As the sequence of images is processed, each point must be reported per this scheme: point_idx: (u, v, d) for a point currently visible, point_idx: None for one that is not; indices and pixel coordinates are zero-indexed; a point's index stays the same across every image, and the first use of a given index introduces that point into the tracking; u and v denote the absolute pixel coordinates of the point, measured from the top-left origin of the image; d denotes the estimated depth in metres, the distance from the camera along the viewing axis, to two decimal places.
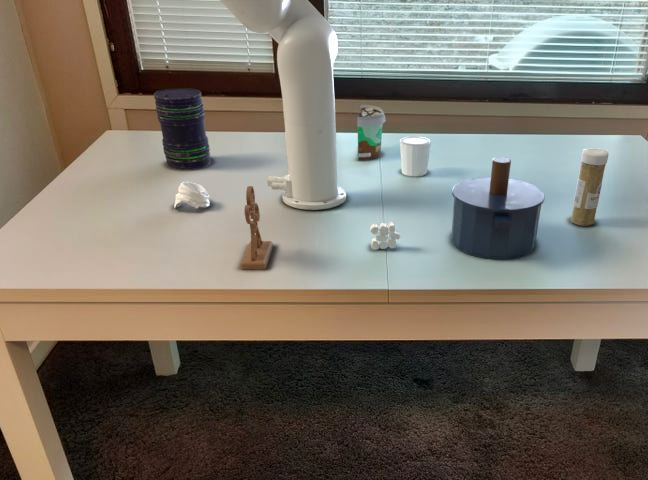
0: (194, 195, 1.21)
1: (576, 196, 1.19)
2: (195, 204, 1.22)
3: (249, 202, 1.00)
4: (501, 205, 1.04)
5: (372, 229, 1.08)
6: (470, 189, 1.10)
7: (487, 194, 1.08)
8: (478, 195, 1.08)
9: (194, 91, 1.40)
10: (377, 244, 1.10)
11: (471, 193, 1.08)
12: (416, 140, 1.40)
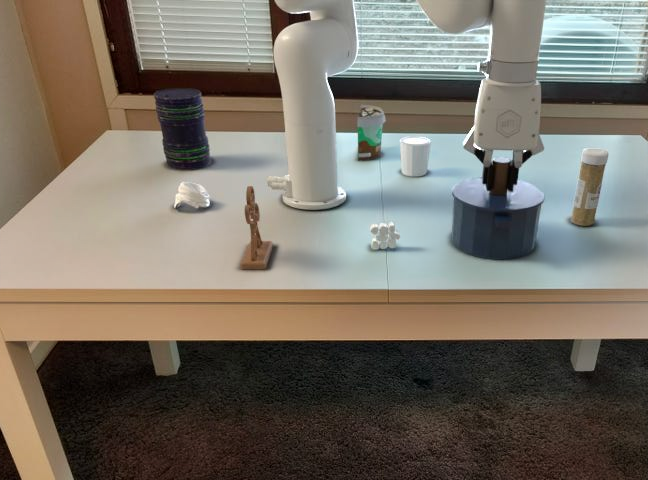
0: (194, 195, 1.21)
1: (576, 196, 1.19)
2: (195, 204, 1.22)
3: (249, 202, 1.00)
4: (501, 205, 1.04)
5: (372, 229, 1.08)
6: (470, 189, 1.10)
7: (487, 194, 1.08)
8: (478, 195, 1.08)
9: (194, 91, 1.39)
10: (377, 244, 1.10)
11: (471, 193, 1.08)
12: (416, 140, 1.40)
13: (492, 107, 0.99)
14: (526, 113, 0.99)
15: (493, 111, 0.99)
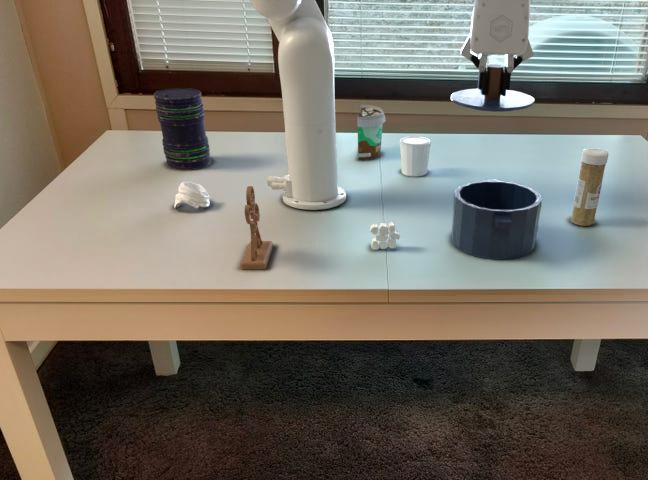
0: (194, 195, 1.21)
1: (576, 196, 1.19)
2: (195, 204, 1.22)
3: (249, 202, 1.00)
4: (495, 105, 1.16)
5: (372, 229, 1.08)
6: (467, 95, 1.22)
7: (482, 98, 1.20)
8: (474, 99, 1.20)
9: (194, 91, 1.39)
10: (377, 244, 1.10)
11: (468, 98, 1.20)
12: (416, 140, 1.40)
13: (486, 13, 1.11)
14: (516, 18, 1.11)
15: (487, 17, 1.11)
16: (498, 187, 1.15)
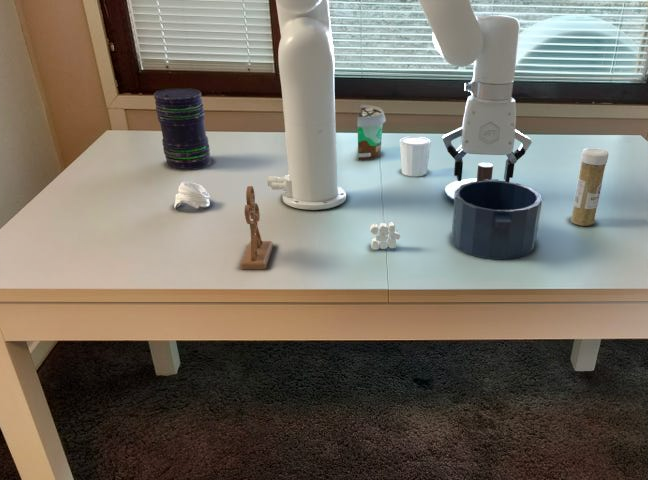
0: (194, 195, 1.22)
1: (576, 196, 1.19)
2: (195, 204, 1.22)
3: (249, 202, 1.00)
4: None
5: (372, 229, 1.08)
6: None
7: None
8: None
9: (194, 91, 1.39)
10: (377, 244, 1.10)
11: None
12: (416, 140, 1.40)
13: (476, 119, 1.21)
14: (504, 124, 1.22)
15: (476, 123, 1.21)
16: (498, 187, 1.15)
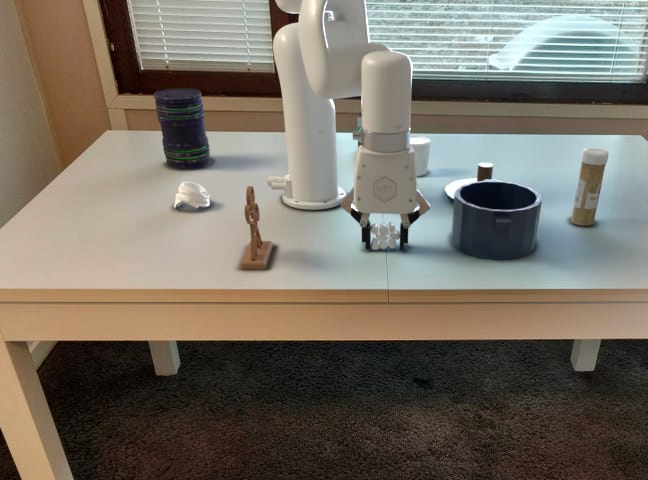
0: (194, 195, 1.22)
1: (576, 196, 1.19)
2: (195, 204, 1.22)
3: (249, 202, 1.00)
4: None
5: (372, 229, 1.08)
6: None
7: None
8: None
9: (194, 91, 1.39)
10: (377, 244, 1.10)
11: None
12: (416, 140, 1.40)
13: (367, 174, 1.01)
14: (401, 179, 1.01)
15: (368, 178, 1.01)
16: (498, 187, 1.15)
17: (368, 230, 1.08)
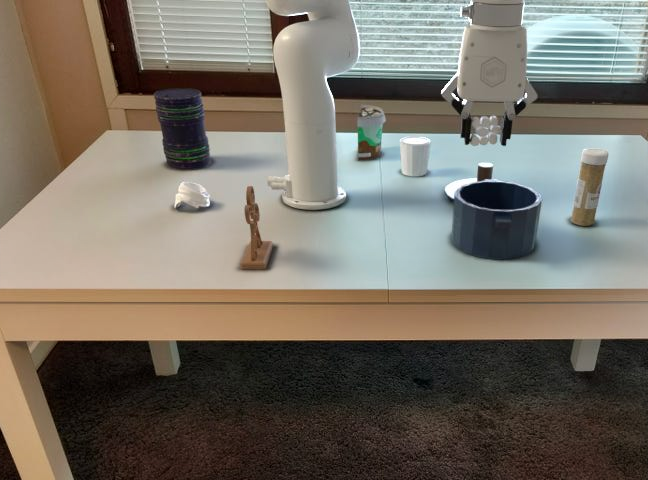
0: (194, 195, 1.22)
1: (576, 196, 1.19)
2: (195, 204, 1.22)
3: (249, 202, 1.00)
4: None
5: (473, 122, 1.01)
6: None
7: None
8: None
9: (194, 91, 1.39)
10: (477, 139, 1.03)
11: None
12: (416, 140, 1.40)
13: (476, 54, 0.94)
14: (511, 60, 0.94)
15: (476, 59, 0.94)
16: (498, 187, 1.15)
17: (470, 122, 1.01)
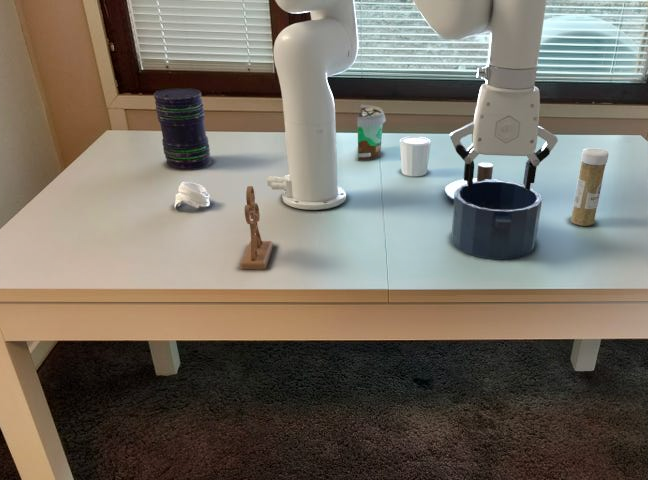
0: (194, 195, 1.22)
1: (576, 196, 1.19)
2: (195, 204, 1.22)
3: (249, 202, 1.00)
4: None
5: None
6: None
7: None
8: None
9: (194, 91, 1.39)
10: None
11: None
12: (416, 140, 1.40)
13: (491, 113, 0.99)
14: (525, 119, 1.00)
15: (492, 117, 1.00)
16: (498, 187, 1.15)
17: (473, 167, 1.05)
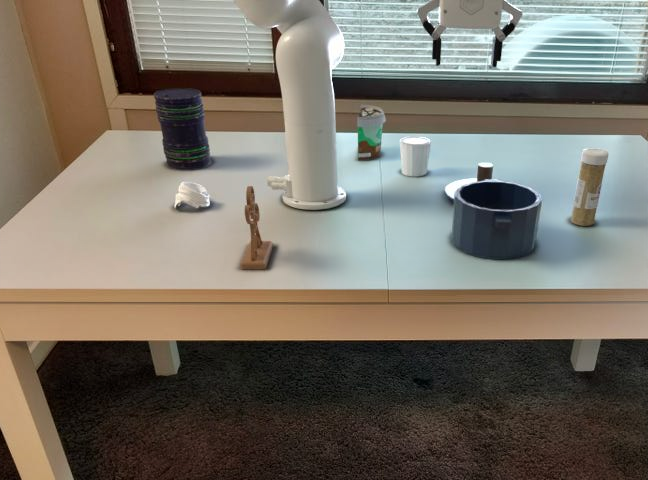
0: (194, 195, 1.22)
1: (576, 196, 1.19)
2: (195, 204, 1.22)
3: (249, 202, 1.00)
4: None
5: None
6: None
7: None
8: None
9: (194, 91, 1.39)
10: None
11: None
12: (416, 140, 1.40)
13: None
14: None
15: None
16: (498, 187, 1.15)
17: (440, 43, 1.08)
